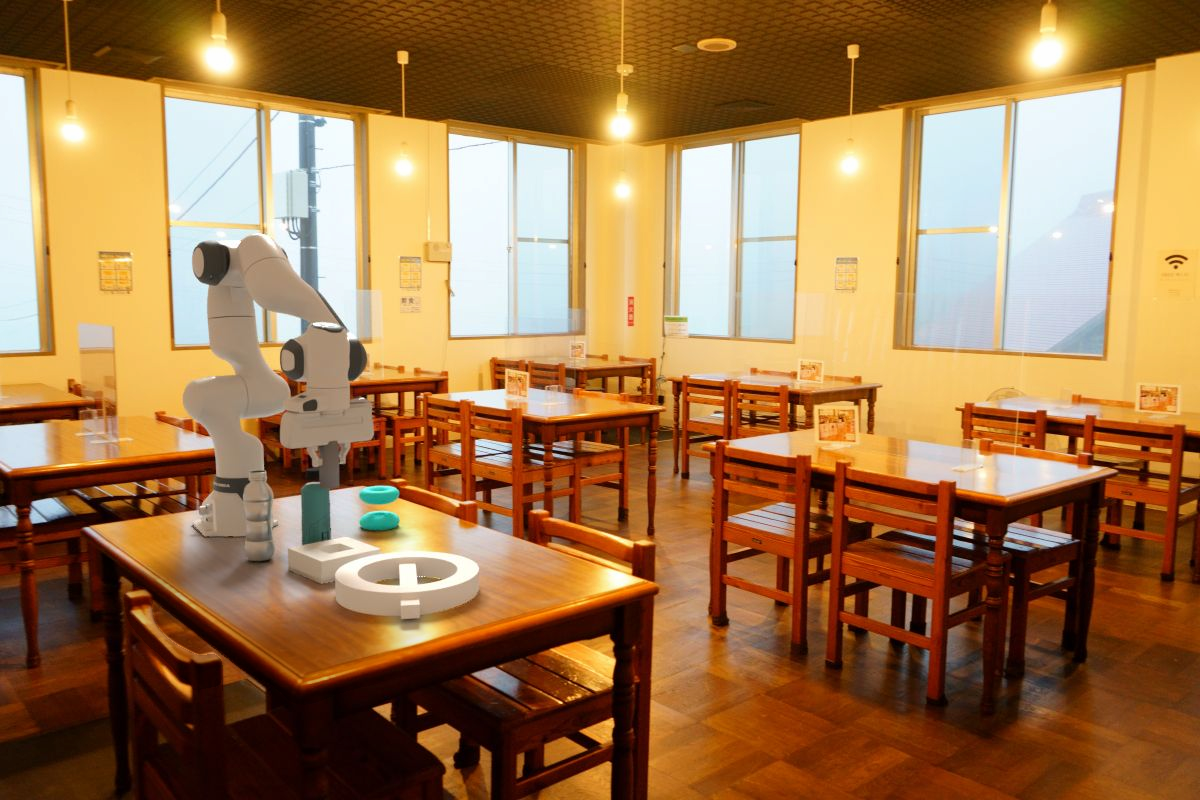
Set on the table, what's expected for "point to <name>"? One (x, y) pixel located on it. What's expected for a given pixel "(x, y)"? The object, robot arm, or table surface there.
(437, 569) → the white circle with bar
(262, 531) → the plastic bottle
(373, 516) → the donuts
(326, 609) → the table surface
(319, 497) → the beverage bottle
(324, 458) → the grey rectangular block
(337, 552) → the stand
